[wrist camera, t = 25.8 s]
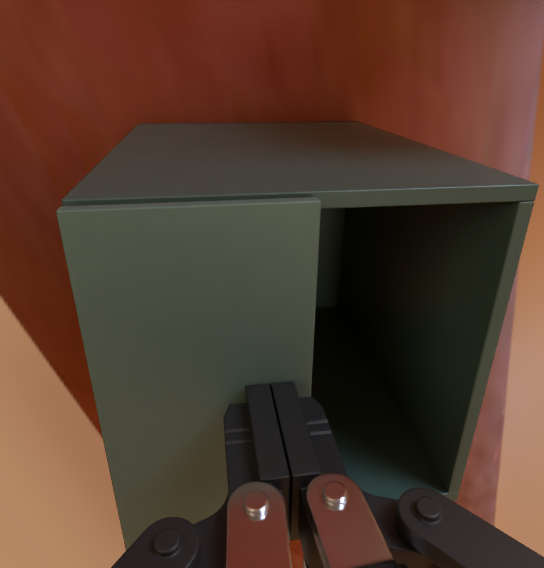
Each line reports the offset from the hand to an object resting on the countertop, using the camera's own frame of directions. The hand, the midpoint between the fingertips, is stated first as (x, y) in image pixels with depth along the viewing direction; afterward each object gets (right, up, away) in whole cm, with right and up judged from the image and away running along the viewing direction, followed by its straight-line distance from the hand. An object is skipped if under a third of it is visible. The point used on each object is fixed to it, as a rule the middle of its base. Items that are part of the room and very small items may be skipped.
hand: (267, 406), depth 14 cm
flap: (-2, 0, 0) cm, 2 cm away
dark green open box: (-1, +7, +16) cm, 17 cm away
